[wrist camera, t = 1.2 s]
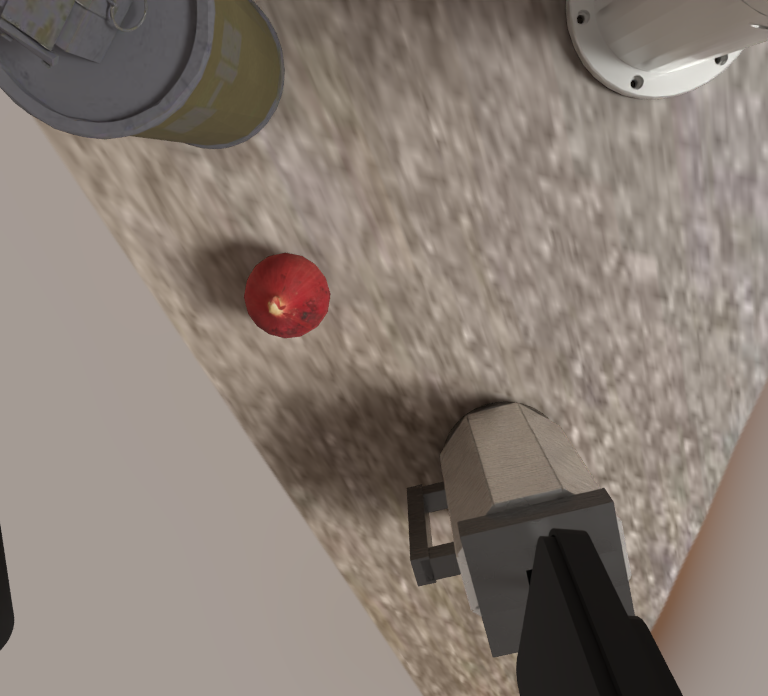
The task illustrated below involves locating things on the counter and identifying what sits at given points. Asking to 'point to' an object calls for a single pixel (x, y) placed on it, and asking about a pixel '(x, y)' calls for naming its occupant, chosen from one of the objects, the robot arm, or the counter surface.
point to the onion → (287, 295)
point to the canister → (143, 67)
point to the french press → (510, 513)
